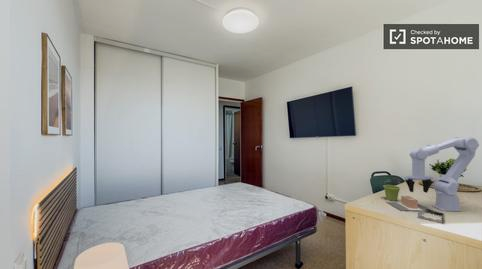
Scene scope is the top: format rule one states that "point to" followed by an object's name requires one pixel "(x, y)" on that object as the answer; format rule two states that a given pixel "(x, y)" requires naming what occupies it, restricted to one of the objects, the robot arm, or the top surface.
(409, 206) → the terracotta card box
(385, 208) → the top surface
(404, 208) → the charcoal mat
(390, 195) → the plant pot
